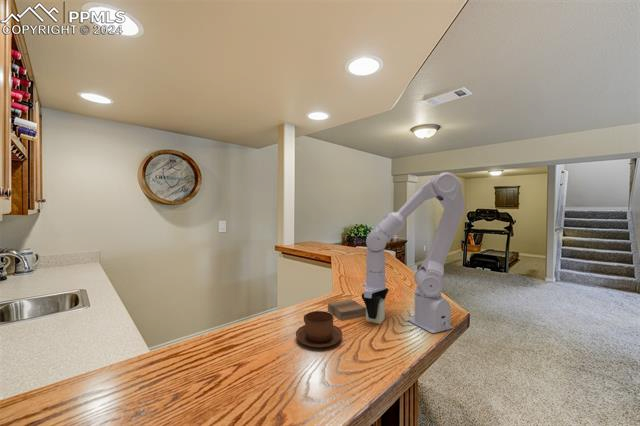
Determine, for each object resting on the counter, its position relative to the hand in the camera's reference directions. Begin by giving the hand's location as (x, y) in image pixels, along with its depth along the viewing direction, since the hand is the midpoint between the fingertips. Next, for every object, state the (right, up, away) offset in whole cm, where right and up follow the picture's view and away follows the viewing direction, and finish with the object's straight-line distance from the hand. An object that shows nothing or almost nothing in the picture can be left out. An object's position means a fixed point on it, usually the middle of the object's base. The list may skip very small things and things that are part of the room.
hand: (375, 314), depth 81 cm
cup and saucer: (-17, -2, -12) cm, 21 cm away
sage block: (0, -2, 0) cm, 2 cm away
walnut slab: (-8, -2, +5) cm, 10 cm away
